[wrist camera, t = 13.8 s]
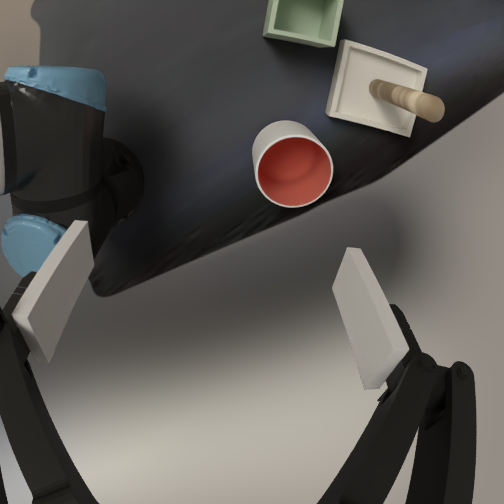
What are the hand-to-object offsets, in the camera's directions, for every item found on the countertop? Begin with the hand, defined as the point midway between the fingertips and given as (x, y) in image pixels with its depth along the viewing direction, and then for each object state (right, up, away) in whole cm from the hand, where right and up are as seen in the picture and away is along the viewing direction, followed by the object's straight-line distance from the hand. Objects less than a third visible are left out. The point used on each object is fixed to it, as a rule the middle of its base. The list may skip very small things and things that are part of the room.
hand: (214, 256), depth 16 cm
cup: (+7, +16, +32) cm, 36 cm away
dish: (+21, +25, +26) cm, 42 cm away
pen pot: (+8, +33, +20) cm, 39 cm away
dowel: (+21, +25, +25) cm, 41 cm away
